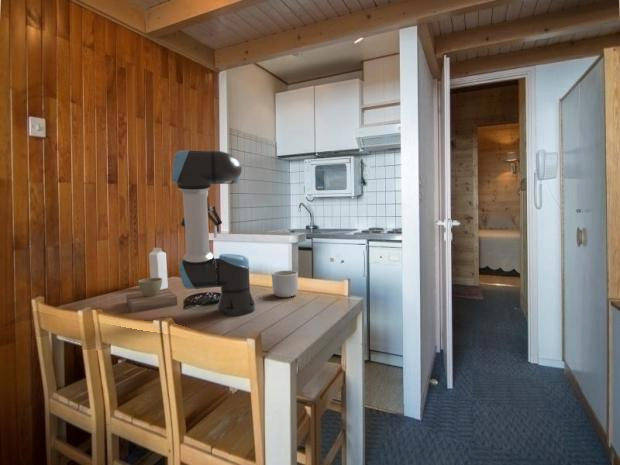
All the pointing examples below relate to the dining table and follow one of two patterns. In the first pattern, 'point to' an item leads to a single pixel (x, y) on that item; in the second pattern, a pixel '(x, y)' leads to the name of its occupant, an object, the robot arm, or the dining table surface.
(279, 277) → the planter
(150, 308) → the stand
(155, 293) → the olive green bowl
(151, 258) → the milk
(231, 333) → the dining table surface
